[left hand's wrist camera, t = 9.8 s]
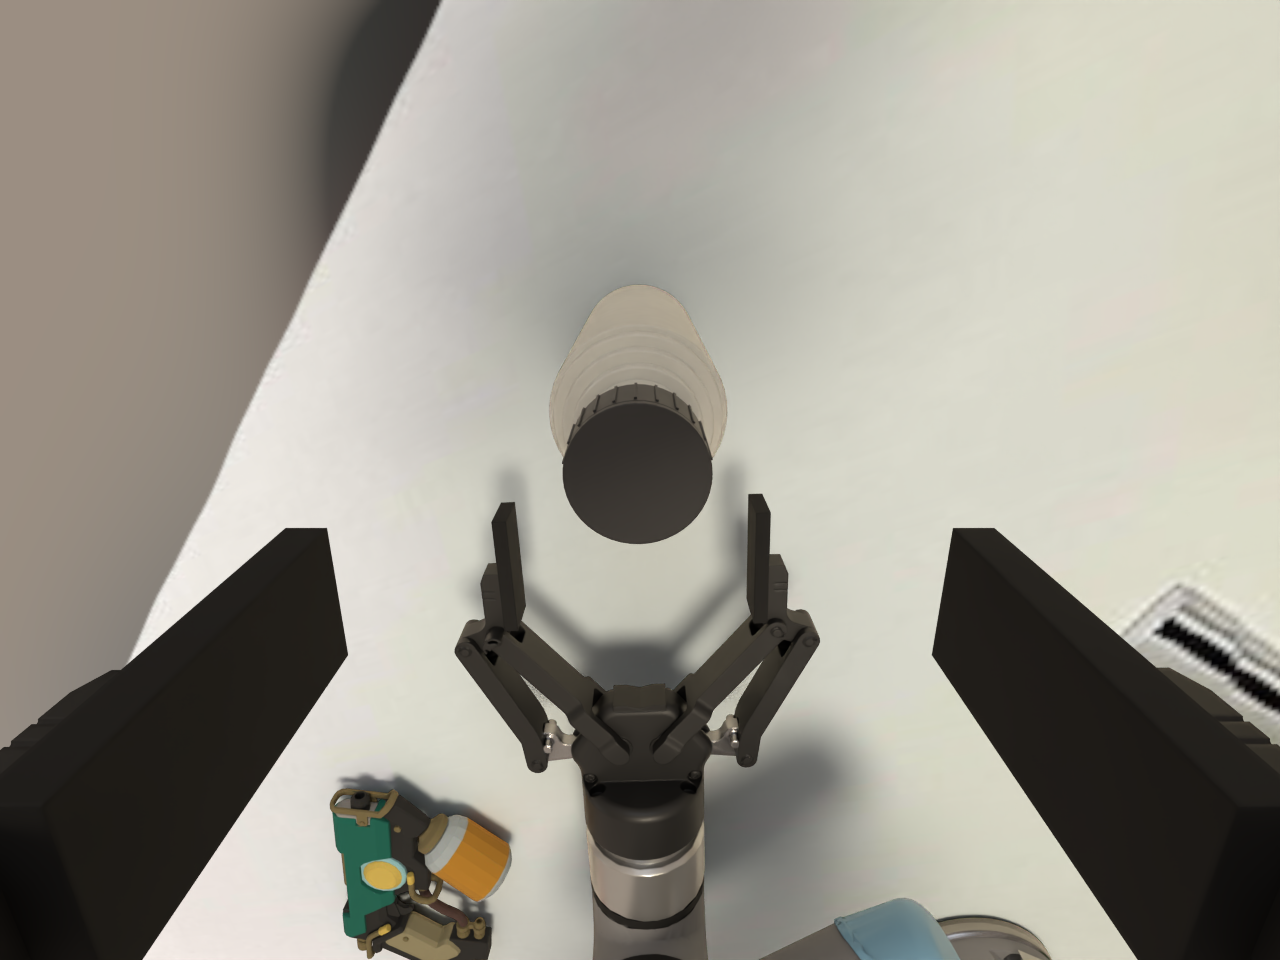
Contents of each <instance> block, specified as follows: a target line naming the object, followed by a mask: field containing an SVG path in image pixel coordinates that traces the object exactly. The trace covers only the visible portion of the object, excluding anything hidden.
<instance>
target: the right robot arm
mask: <svg viewBox="0 0 1280 960" xmlns="http://www.w3.org/2000/svg"><path fill="white" fill-rule="evenodd" d="M770 519H771V512H770V510H769V508H768V506H767V504H766V501H765V499H764V497H763V495H762V494H748V549H747V602H748V605H749V609H750V612H751V615H750V616H749V618H748V619H747V620H746V621H745V622H744V623H743V624H742V625H741V626H740V627H739V628H738V629H737V630H736V631H735V632H734V633H733V634H732V635H731V636H730V637H729V638H728V639H727V640H726V641H725V642H724V644H723V645H722V646H721V647H720V648H719V649H718V650H717V651H716V652H715V653H714V654H713V655H712V656H711V657H710V658H709V659H708V660H707V661H706V662H705V663H704V664H703V665H702V666H701V667H700V668H699V670H698V671H697V672H696V673H694V674H689V675H688V676H686V678H685V679H684V680H683V681H682V682H681V683H680V684H679V685H678V686H677V687H676V688H675V689H674V690H672V689H669V688H665V684H651V685H647V686H643V687H635V686H629V685H614V689H613V690H610V691H608V692H606V691H605V690H604V689H603V688H602V687H601V686H599V685H598V684H597V683H596V682H595V681H594V680H593V679H592V678H590V677H584V676H582V675H581V674H580V673H579V672H578V671H577V670H576V669H574V668H573V667H572V666H571V665H570V664H569V663H568V662H567V661H566V660H564V659H563V658H562V657H561V656H560V655H559V654H558V653H557V652H556V651H554V650H553V649H552V648H551V647H550V646H549V645H548V644H547V643H545V642H544V641H543V640H542V639H541V638H540V637H539V636H538V635H537V634H535V633H534V632H533V631H532V630H531V629H530V628H529V627H528V626H527V625H525V624H524V623H523V622H522V621H521V620H522V617H523V613H524V610H525V607H526V603H525V594H524V584H523V575H522V566H521V556H520V547H519V537H518V528H517V518H516V509H515V502H507V503H501V504H500V506H499V508H498V510H497V512H496V514H495V516H494V518H493V520H492V531H493V539H494V547H495V556H496V563H488V565H487V568H486V570H485V572H484V574H483V577H482V580H481V591H482V599H483V607H484V614H485V619H483V620H480V621H479V620H469V621H468V622H467V623H466V625H465V627H464V629H463V631H462V634H461V636H460V638H459V640H458V643H457V645H456V647H455V654H456V656H457V658H458V659H459V660H460V662H461V663H462V664H463V666H464V667H465V668H466V670H467V671H468V672H469V674H470V675H471V676H472V678H473V679H474V680H475V682H476V683H477V684H478V686H479V687H480V688H481V690H482V691H483V692H484V694H485V695H486V697H487V698H488V699H489V701H490V702H491V703H492V705H493V706H494V707H495V709H496V710H497V711H498V713H499V714H500V715H501V717H502V718H503V719H504V721H505V722H506V723H507V725H508V726H509V727H510V729H511V730H512V731H513V733H514V734H515V735H516V737H517V738H518V740H519V741H520V742H521V744H522V747H523V751H524V755H525V759H526V763H527V766H528V768H529V770H531V771H532V772H535V773H541V772H543V771H545V770H546V768H547V765H548V761H552V760H560V759H568V758H573V759H574V761H575V762H576V763H577V764H578V766H579V767H580V769H581V773H582V783H583V796H584V808H585V819H586V824H587V830H586V834H587V844H588V854H589V864H590V874H591V885H592V894H593V916H594V947H593V960H708V955H707V944H706V930H705V906H704V872H705V846H704V821H703V818H704V765H705V763H706V761H707V759H708V758H709V757H710V755H711V754H714V755H730V756H736V759H737V763H738V764H739V765H740V766H742V767H751V766H753V765H754V764H755V763H756V761H757V757H758V751H759V745H760V739H761V736H762V734H763V733H764V731H765V730H766V728H767V726H768V725H769V723H770V722H771V720H772V718H773V717H774V715H775V714H776V712H777V710H778V709H779V707H780V706H781V704H782V703H783V701H784V699H785V698H786V696H787V695H788V693H789V691H790V690H791V688H792V687H793V685H794V684H795V682H796V680H797V679H798V677H799V676H800V674H801V672H802V671H803V669H804V668H805V666H806V664H807V663H808V661H809V660H810V658H811V657H812V655H813V653H814V652H815V650H816V649H817V647H818V645H819V643H820V638H819V635H818V633H817V631H816V628H815V626H814V624H813V621H812V619H811V617H810V615H809V613H808V612H807V611H805V610H802V609H800V610H796V611H793V610H790V609H787V592H788V591H787V589H788V572H787V570H786V567H785V565H784V563H783V560H782V558H781V555H780V554H769V553H770ZM763 659H764V660H763ZM762 660H763V662H762V663H761V661H762ZM760 663H761V665H760V667H759V668H758V670H757V672H756V673H755V675H754V677H753V678H752V680H751V681H750V683H749V685H748V686H747V688H746V690H745V691H744V693H743V695H742V696H741V698H740V700H739V702H738V704H737V707H736V710H735V714H734V715H732V714H730V715H727V717H726V720H725V721H724V722H723V724H722V726H721V727H720V729H718V730H715V731H710V729H709V727H708V726H707V725H706V723H707V722H708V721H709V720H710V718H711V715H712V712H713V710H714V709H715V708H716V707H717V706H718V705H719V704H720V703H721V702H722V701H723V700H724V699H725V698H726V697H727V696H728V695H729V694H730V693H731V692H732V691H733V690H734V689H735V688H736V687H737V686H738V685H739V684H740V683H741V682H742V681H743V680H744V679H745V678H746V677H747V676H748V675H749V674H750V673H751V672H752V671H753V670H754V669H755V668H756V667H757V666H758V665H759V664H760ZM520 675H521V676H523V677H524V678H525V679H526V680H527V681H528V682H529V683H531V684H532V685H533V686H534V687H535V688H536V689H538V690H539V691H540V692H541V693H542V694H543V695H544V696H546V697H547V698H548V699H549V700H550V701H551V702H552V703H554V704H555V705H556V706H557V707H558V708H559V709H561V710H562V711H563V712H564V713H565V714H566V716H567V718H568V721H569V723H570V724H571V725H572V726H573V727H574V728H575V731H574V733H573V735H568V734H565V733H563V732H562V731H561V730H560V728H559V726H558V725H557V722H556V721H555V720H553V719H550V720H548V718H547V715H546V713H545V711H544V708H543V707H542V705H541V704H540V702H539V701H538V699H537V698H536V697H535V695H534V694H533V692H532V691H531V690H530V688H529V687H528V685H527V684H526V683H525V681H524V680H523V679H522V677H521V676H520ZM759 960H1052V959H1051V957H1050V955H1049V953H1048V952H1047V950H1046V948H1045V947H1044V945H1043V944H1042V943H1041V942H1040V941H1039V940H1038V939H1037V938H1036V937H1035V936H1034V935H1033V934H1031V933H1030V932H1028V931H1027V930H1025V929H1023V928H1021V927H1019V926H1016V925H1014V924H1011V923H1008V922H1005V921H1001V920H996V919H989V918H960V919H952V920H947V921H943V922H939V923H938V922H937V921H936V920H935V918H934V917H933V916H932V915H931V914H930V913H929V912H928V911H927V910H926V909H925V908H924V907H923V906H922V905H921V904H919V903H918V902H916V901H914V900H911V899H907V898H898V899H894V900H891V901H888V902H886V903H883V904H880V905H877V906H874V907H871V908H869V909H866V910H863V911H860V912H857V913H854V914H851V915H849V916H846V917H838V918H836V919H834V924H832V925H830V926H828V927H826V928H824V929H821V930H819V931H817V932H815V933H813V934H811V935H809V936H807V937H805V938H803V939H801V940H799V941H797V942H794V943H792V944H790V945H788V946H786V947H784V948H782V949H780V950H778V951H776V952H774V953H772V954H770V955H767V956H765V957H763V958H761V959H759Z"/></svg>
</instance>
